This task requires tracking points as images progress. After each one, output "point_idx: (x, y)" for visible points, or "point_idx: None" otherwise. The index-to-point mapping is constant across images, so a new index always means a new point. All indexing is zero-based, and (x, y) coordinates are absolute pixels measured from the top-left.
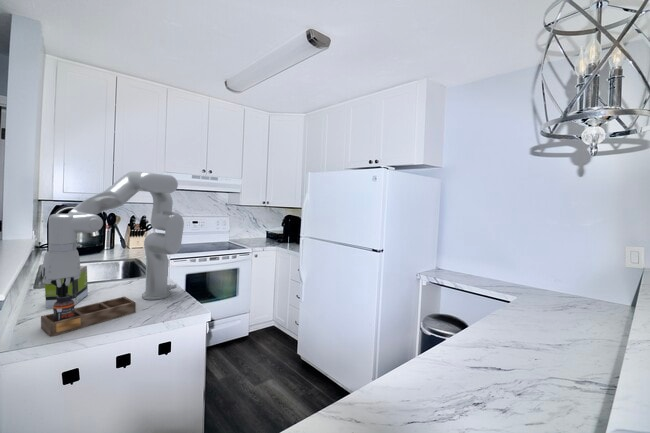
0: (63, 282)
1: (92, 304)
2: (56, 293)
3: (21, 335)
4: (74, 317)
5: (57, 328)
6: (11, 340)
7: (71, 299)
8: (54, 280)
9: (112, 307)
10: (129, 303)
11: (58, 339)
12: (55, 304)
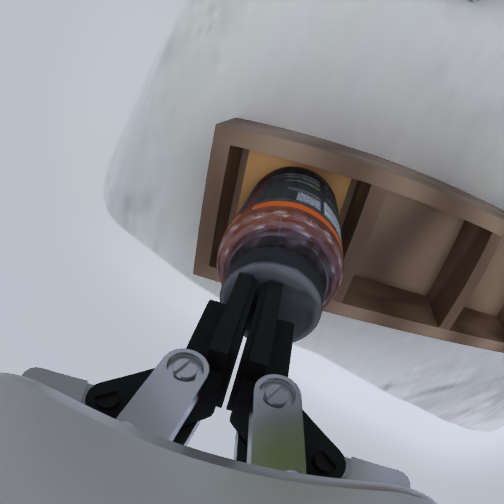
0: (251, 407)
1: (470, 216)
2: (206, 311)
3: (159, 129)
4: None
5: None
6: (125, 148)
7: (333, 283)
8: (132, 415)
9: (450, 334)
10: (498, 349)
11: (217, 286)
12: (218, 269)
